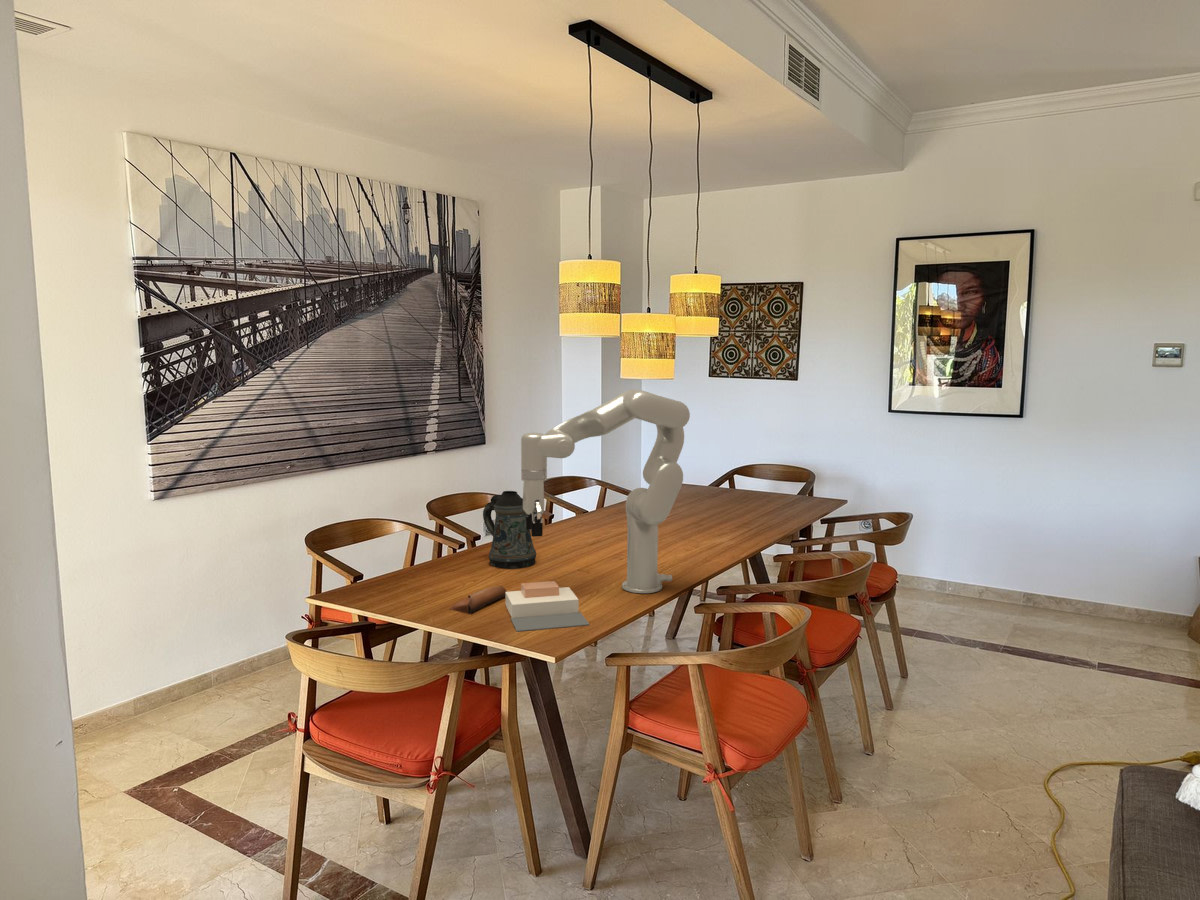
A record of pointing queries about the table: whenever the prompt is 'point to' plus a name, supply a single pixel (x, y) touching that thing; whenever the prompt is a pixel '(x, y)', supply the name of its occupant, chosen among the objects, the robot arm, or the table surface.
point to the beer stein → (509, 532)
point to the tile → (539, 589)
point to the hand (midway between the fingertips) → (534, 532)
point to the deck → (541, 604)
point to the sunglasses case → (479, 599)
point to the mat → (549, 621)
